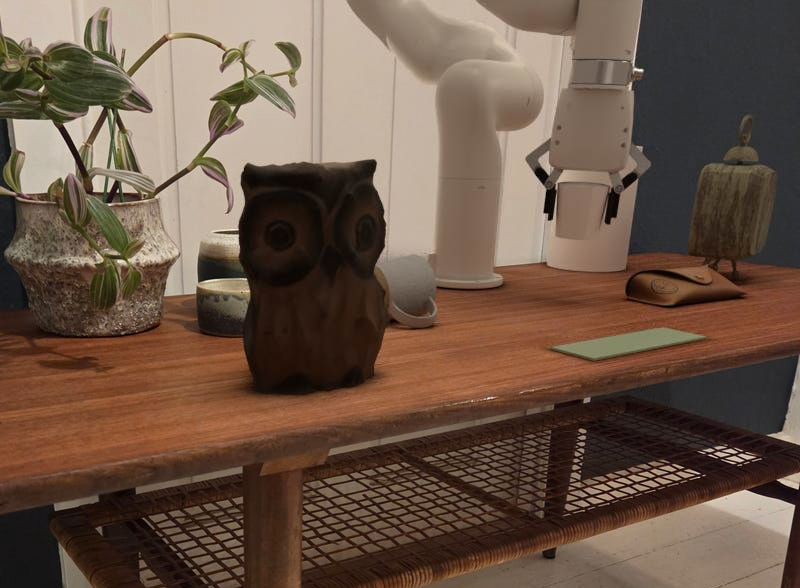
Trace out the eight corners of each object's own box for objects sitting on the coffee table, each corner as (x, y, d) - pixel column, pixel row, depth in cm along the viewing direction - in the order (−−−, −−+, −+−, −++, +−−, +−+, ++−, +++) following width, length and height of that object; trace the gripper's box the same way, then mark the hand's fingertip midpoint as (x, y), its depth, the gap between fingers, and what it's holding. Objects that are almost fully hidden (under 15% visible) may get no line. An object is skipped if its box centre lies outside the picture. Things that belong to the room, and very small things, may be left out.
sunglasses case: (673, 304, 120) (658, 258, 121) (633, 322, 126) (619, 279, 127) (752, 294, 129) (739, 251, 130) (711, 311, 135) (699, 270, 136)
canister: (629, 263, 160) (646, 146, 152) (620, 274, 148) (638, 147, 141) (554, 258, 165) (567, 144, 157) (540, 268, 153) (553, 145, 146)
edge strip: (593, 361, 93) (593, 358, 93) (550, 349, 98) (550, 346, 97) (706, 338, 103) (706, 336, 103) (662, 329, 108) (662, 327, 108)
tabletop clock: (704, 271, 153) (731, 115, 144) (760, 276, 148) (792, 115, 139) (681, 281, 142) (708, 113, 133) (741, 287, 137) (774, 114, 128)
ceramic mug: (348, 316, 113) (350, 255, 110) (398, 309, 117) (401, 250, 114) (401, 333, 105) (405, 267, 102) (452, 325, 109) (457, 262, 106)
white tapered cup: (574, 241, 116) (582, 186, 113) (540, 234, 122) (547, 181, 119) (613, 240, 119) (622, 185, 116) (577, 232, 125) (585, 180, 122)
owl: (390, 372, 87) (399, 158, 80) (347, 407, 77) (353, 163, 69) (274, 359, 92) (272, 155, 84) (217, 390, 81) (210, 159, 73)
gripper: (668, 80, 114) (643, 222, 121) (531, 76, 118) (515, 214, 125) (674, 78, 107) (647, 229, 114) (528, 74, 111) (511, 220, 118)
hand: (578, 220), depth 119 cm, fingers closed on white tapered cup, 6 cm apart
